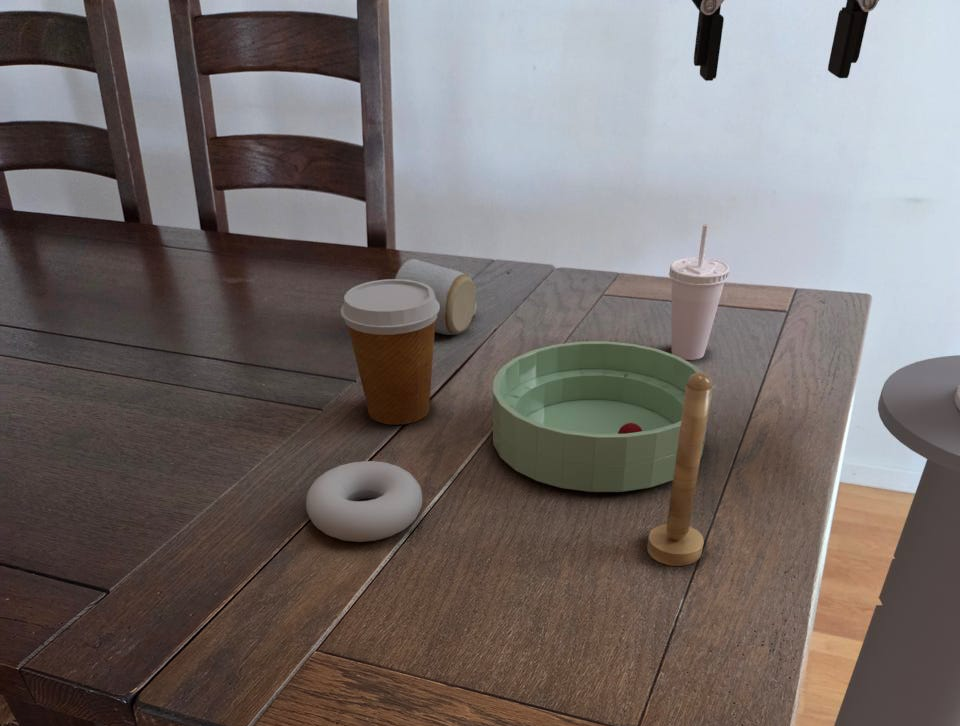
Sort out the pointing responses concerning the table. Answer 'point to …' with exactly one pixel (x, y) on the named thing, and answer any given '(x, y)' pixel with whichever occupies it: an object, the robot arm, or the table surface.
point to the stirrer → (684, 481)
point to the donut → (364, 520)
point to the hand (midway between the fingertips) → (772, 76)
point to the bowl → (591, 415)
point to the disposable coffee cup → (393, 346)
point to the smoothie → (695, 300)
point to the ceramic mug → (445, 294)
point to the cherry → (629, 428)
